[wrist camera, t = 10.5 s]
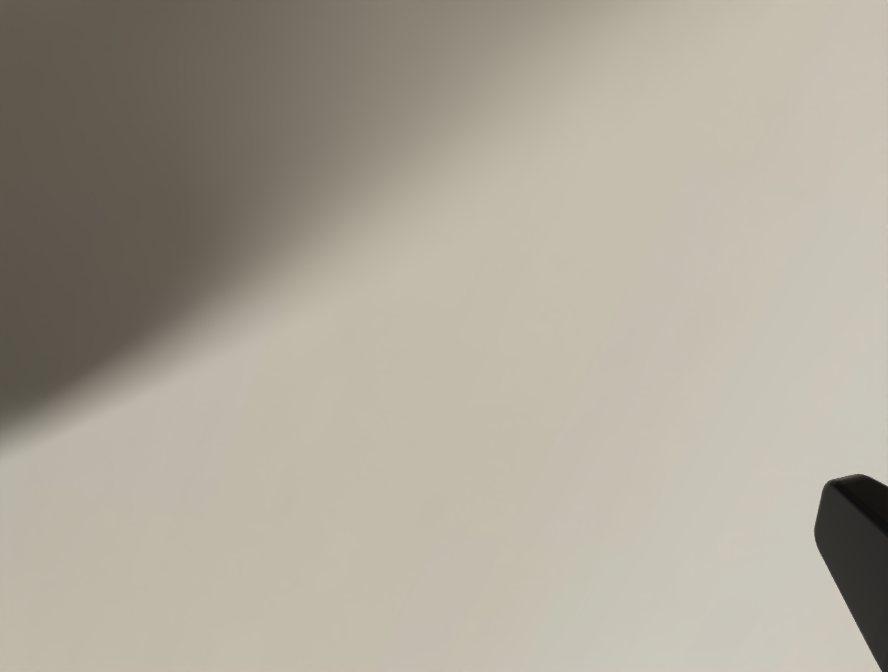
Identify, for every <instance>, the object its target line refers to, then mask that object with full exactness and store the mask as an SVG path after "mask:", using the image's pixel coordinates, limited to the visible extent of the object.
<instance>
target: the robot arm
mask: <svg viewBox="0 0 888 672" xmlns="http://www.w3.org/2000/svg"><path fill="white" fill-rule="evenodd" d="M814 535H815V541H816V544H817V547H818V549H819V552H820V554H821V556H822V557H823V559H824V561H825V563H826V565H827V567H828V569H829V571H830V573H831V575H832V577H833V579H834V581H835V583H836V585H837V587H838V589H839V591H840V593H841V594H842V596H843V598H844V600H845V602H846V604H847V606H848V608H849V610H850V612H851V614H852V616H853V618H854V620H855V622H856V624H857V626H858V628H859V629H860V631H861V633H862V635H863V637H864V639H865V641H866V643H867V645H868V647H869V649H870V651H871V653H872V655H873V656H874V658H875V660H876V662H877V664H878V665H879V667H880V669H881V671H882V672H888V486H886V485H884V484H883V483H881V482H879V481H877V480H875V479H873V478H871V477H869V476H866V475H863V474H854V475H850V476H845V477H841V478H837V479H833V480H830V481H828V482H827V483H826V484H825V486H824V488H823V491H822V495H821V500H820V504H819V509H818V513H817V518H816V522H815V528H814Z"/></svg>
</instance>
